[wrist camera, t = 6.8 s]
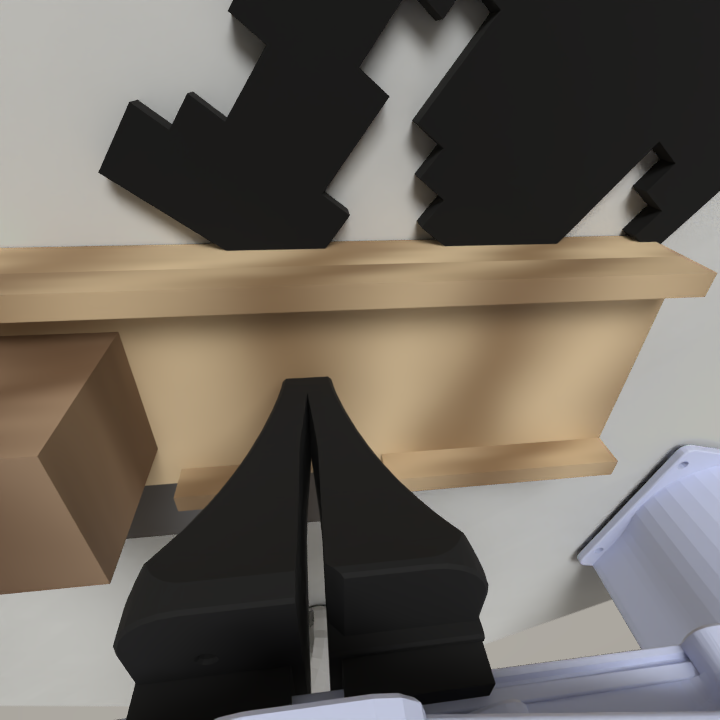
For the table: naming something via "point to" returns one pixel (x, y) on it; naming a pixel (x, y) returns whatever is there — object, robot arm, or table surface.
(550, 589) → the table surface
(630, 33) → the black pixelated cutout
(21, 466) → the walnut block
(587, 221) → the table surface
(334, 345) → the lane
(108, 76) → the table surface
